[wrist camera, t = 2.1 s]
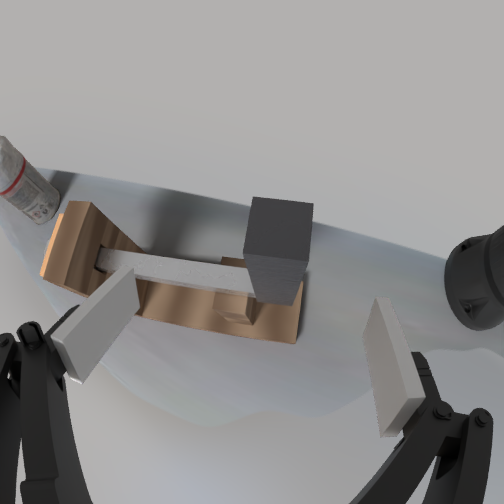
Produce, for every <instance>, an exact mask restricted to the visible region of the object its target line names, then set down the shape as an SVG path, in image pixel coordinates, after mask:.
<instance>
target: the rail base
mask: <svg viewBox="0 0 504 504" xmlns="http://www.w3.org/2000/svg"><path fill="white" fill-rule="evenodd" d="M100 247H101V248H108V249H114V250H121V251H127V252H134V253H141V254H146V253H145V252H144V251H143V250H142V249H141V248H140V247H139V246H137V245H136V244H135V243H134V242H133V241H132V240H131V239H130V238H129V237H128V236H126V235H125V234H124V233H123V232H122V231H121V230H120V229H119V228H118V227H117V226H116V225H115V224H113V223H112V222H111V221H110V220H109V219H108V218H107V217H106V216H105V215H104V214H103V213H102V212H101V211H100V210H99V209H98V208H97V207H96V206H95V205H94V204H93V203H92V202H85V201H69V203H68V205H67V208H66V210H65V213H64V215H63V218H62V221H61V223H60V226H59V229H58V232H57V235H56V237H55V240H54V243H53V246H52V250H51V253H50V256H49V259H48V263H47V266H46V269H45V273H44V277H43V279H44V280H46V281H48V282H51V283H53V284H55V285H57V286H60V287H62V288H64V289H67V290H69V291H71V292H74V293H76V294H79V295H81V296H83V297H86V298H88V297H89V296H90V295H91V294H92V293H93V292H95V291H96V290H97V289H98V288H99V287H100V286H101V285H102V284H103V283H104V282H105V281H106V280H107V279H108V278H109V277H110V276H112V275H113V274H112V273H107V272H102V271H97V270H95V269H94V264H95V261H96V258H97V254H98V251H99V248H100ZM147 255H148V254H147ZM221 265H225V266H232V267H240V268H247V266H246V263H245V259H237V258H230V257H222V260H221ZM135 280H136V286H137V292H138V298H139V304H140V308H139V309H138V311H137V312H136V313H135V315H136V316H140V317H144V318H148V319H152V320H157V321H161V322H166V323H170V324H175V325H180V326H185V327H190V328H195V329H200V330H205V331H211V332H216V333H222V334H228V335H234V336H240V337H246V338H253V339H259V340H266V341H274V342H281V343H289V344H295V343H296V336H297V328H298V321H299V313H300V305H301V297H302V289H303V281H301V284H300V287H299V290H298V292H297V295H296V298H295V300H294V303H293V306H285V305H278V304H270V303H263V302H257V300H256V298H253V297H246V296H239V295H232V294H226V293H219V292H213V291H207V290H200V289H194V288H188V287H182V286H176V285H171V284H165V283H159V282H154V281H148V280H143V279H138V278H135Z"/></svg>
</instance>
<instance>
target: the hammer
mask: <svg viewBox="0 0 504 504" xmlns="http://www.w3.org/2000/svg"><path fill="white" fill-rule="evenodd" d="M312 217H313V203H305V202H296V201H288V200H279V199H270V198H261V197H253V199H252V205H251V210H250V216H249V221H248V227H247V232H246V238H245V243H244V249H243V256H244V259H245V263H246V266H247V268H240V267H232V266H225V265H218V264H210V263H203V262H196V261H189V260H182V259H175V258H168V257H161V256H154V255H147V254H141V253H134V252H127V251H121V250H114V249H108V248H101V247H100V248H99V251H98V254H97V258H96V261H95V264H94V269H95V270H97V271H102V272H107V273H112V274H114V273H115V272H116V271H117V270H118V269H119V268H120V267H121V266H122V265H123V266H129V267H134V274H135V278H138V279H143V280H148V281H154V282H159V283H165V284H171V285H176V286H182V287H188V288H194V289H200V290H207V291H213V292H219V293H226V294H232V295H239V296H246V297H253V298H256V300H257V302H263V303H270V304H278V305H285V306H293V303H294V300H295V298H296V295H297V292H298V290H299V287H300V284H301V281H302V279H303V276H304V273H305V270H306V268H307V265H308V262H309V252H310V241H311V230H312ZM49 242H50V239H48V242H47V245H46V248H45V251H44V254H43V255H44V256H45V255H46V251H47V248H48V245H49Z"/></svg>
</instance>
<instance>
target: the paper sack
mask: <svg viewBox="0 0 504 504" xmlns="http://www.w3.org/2000/svg"><path fill="white" fill-rule="evenodd" d="M0 196H2V197H3V198H5V199H6V200H7V201H8V202H10V203H11V204H12V205H13V206H15V207H16V208H17V209H19V210H20V211H21V212H23V213H24V214H25V215H27V216H28V217H29V218H31V219H32V220H33V221H34V222H35V223H36V224H43V223H45V222H47V221H48V220H50V219H51V218H52V217H53V216H54V214H55V213H56V211H57V209H58V207H59V203H60V194H59V192H58V190H57V189H55V188H54V187H53V186H52V185H51V184H49V182H48V181H47V180H46V179H45V178H44V177H43V176H42V175H41V174H40V173H39V172H38V171H37V170H36V169H35V168H34V167H33V166H32V165H31V164H30V163H29V162H28V161H27V160H26V159H25V158H24V157H23V155H22V154H21V153H20V152H19V151H18V150H17V149H16V148H14V147H13V145H12V144H11V143H10V142H9V141H8V139H7V138H6V137H4V136H0Z"/></svg>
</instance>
